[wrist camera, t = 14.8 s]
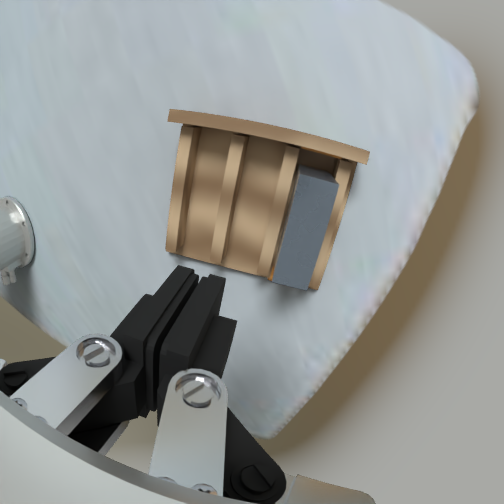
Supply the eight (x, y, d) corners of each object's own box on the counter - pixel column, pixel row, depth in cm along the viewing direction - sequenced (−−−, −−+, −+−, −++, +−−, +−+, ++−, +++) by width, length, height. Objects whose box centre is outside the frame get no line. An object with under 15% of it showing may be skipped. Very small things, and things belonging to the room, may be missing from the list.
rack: (316, 288, 34) (318, 311, 29) (169, 250, 35) (151, 267, 30) (358, 149, 28) (370, 151, 23) (188, 111, 29) (169, 108, 24)
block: (305, 253, 32) (306, 290, 24) (278, 246, 32) (271, 281, 24) (328, 171, 28) (339, 184, 21) (299, 163, 28) (299, 174, 21)
